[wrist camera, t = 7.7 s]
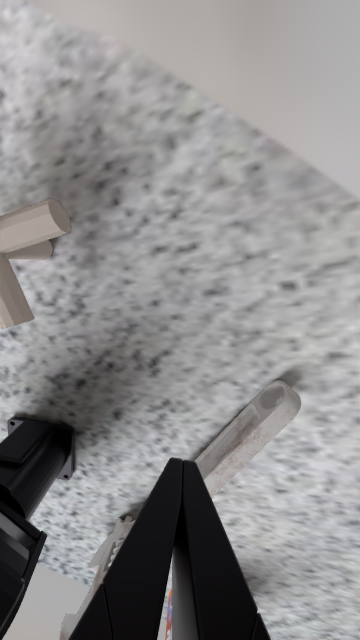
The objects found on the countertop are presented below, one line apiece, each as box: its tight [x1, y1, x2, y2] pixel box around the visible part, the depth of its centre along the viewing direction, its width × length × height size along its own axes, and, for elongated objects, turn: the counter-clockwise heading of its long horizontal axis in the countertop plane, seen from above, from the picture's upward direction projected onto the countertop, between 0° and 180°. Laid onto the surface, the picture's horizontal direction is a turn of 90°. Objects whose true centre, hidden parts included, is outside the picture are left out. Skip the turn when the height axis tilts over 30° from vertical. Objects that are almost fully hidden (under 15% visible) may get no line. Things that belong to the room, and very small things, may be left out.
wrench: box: [60, 380, 301, 640], centre depth 20 cm, size 8×2×30 cm
